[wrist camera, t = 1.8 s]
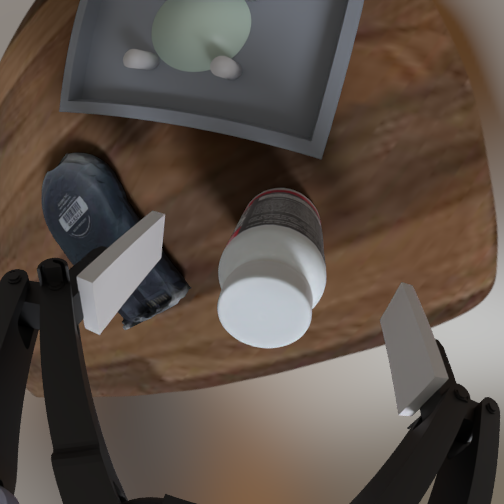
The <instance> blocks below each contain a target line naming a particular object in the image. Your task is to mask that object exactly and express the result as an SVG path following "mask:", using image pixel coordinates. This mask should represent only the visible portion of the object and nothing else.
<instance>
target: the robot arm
mask: <svg viewBox="0 0 504 504" xmlns="http://www.w3.org/2000/svg"><path fill="white" fill-rule="evenodd" d="M164 221H165V214H163V213H159V212H155V211H152V212H150V213H149V214H148V215H147V216H145V217H144V218H143V219H142V220H140V221H139V222H138V223H137V224H136V225H134V226H133V227H132V228H131V229H130V230H128V231H127V232H126V233H125V234H124V235H122V236H121V237H120V238H119V239H118V240H117V241H115V242H114V243H113V244H112V245H111V246H110V247H108V248H107V247H104V246H100V247H98V248H95V249H93V250H92V251H90V252H89V253H88V254H87V255H86V257H83V258H82V259H81V261H79V262H78V263H76V264H75V265H74V266H73V267H72V268H71V269H70V270H69V269H68V264H67V262H66V261H65V260H63V259H60V258H50V259H47V260H45V261H43V262H41V263H40V264H39V265H38V268H37V272H38V277H39V281H40V282H34V281H29V278H28V275H27V272H25V271H24V270H20V269H15V270H11V271H9V272H7V273H6V274H5V275H4V276H3V277H2V279H1V281H0V504H19V502H18V500H17V499H16V497H15V496H14V492H15V485H16V478H17V462H18V443H19V433H20V423H21V414H22V408H23V401H24V395H25V389H26V383H27V378H28V373H29V368H30V363H31V359H32V354H33V350H34V346H35V342H36V338H37V334H38V331H39V330H40V352H41V368H42V379H43V389H44V397H45V405H46V412H47V418H48V424H49V428H50V435H51V440H52V444H53V454H52V455H51V461H52V466H53V471H54V475H55V478H56V482H57V485H58V488H59V492H60V495H61V498H62V501H63V504H196V503H192V502H189V501H185V500H182V499H179V498H176V497H173V496H170V495H167V494H165V496H164V498H153V497H146V498H137V499H132V500H129V501H128V499H127V497H126V495H125V493H124V490H123V488H122V486H121V483H120V481H119V479H118V477H117V475H116V472H115V470H114V467H113V464H112V461H111V459H110V456H109V453H108V450H107V447H106V444H105V441H104V437H103V434H102V431H101V428H100V424H99V421H98V417H97V413H96V409H95V406H94V402H93V398H92V393H91V389H90V385H89V380H88V376H87V371H86V366H85V360H84V355H83V349H82V343H81V337H80V330H79V325H78V324H79V323H80V322H81V321H82V320H83V319H84V324H85V328H86V329H88V330H90V331H92V332H94V333H97V334H99V335H100V334H101V332H102V331H103V330H104V329H105V327H106V326H107V325H108V323H109V322H110V321H111V319H112V318H113V317H114V316H115V314H116V313H117V312H118V310H119V309H120V308H121V307H122V305H123V304H124V303H125V302H126V300H127V299H128V298H129V297H130V295H131V294H132V293H133V292H134V290H135V289H136V288H137V287H138V285H139V284H140V283H141V282H142V281H143V279H144V278H145V277H146V276H147V274H148V273H149V272H150V271H151V270H152V268H153V267H154V266H155V265H156V264H157V262H158V261H159V260H160V259H161V256H162V243H163V232H164ZM380 322H381V326H382V331H383V335H384V340H385V344H386V349H387V354H388V358H389V363H390V368H391V374H392V379H393V384H394V390H395V396H396V402H397V409H398V415H404V416H412V415H414V414H415V413H416V412H417V411H418V410H419V409H420V411H421V416H420V417H419V418H418V419H417V420H415V421H414V422H413V423H412V424H411V425H410V426H409V427H408V429H410V430H409V431H408V433H407V434H406V436H405V437H404V439H403V440H402V441H401V443H400V444H399V445H398V447H397V448H396V450H395V451H394V452H393V453H392V455H391V456H390V457H389V459H388V460H387V461H386V463H385V464H384V465H383V466H382V467H381V469H380V470H379V471H378V472H377V474H376V475H375V476H374V477H373V478H372V479H371V481H370V482H369V483H368V484H367V485H366V486H365V488H364V489H363V490H362V491H361V492H360V493H359V494H358V495H357V496H356V497H355V498H354V499H353V500H352V502H351V503H350V504H419V502H420V501H421V499H422V497H423V496H424V494H425V493H426V491H427V490H428V488H429V486H430V485H431V483H432V481H433V479H434V478H435V476H436V474H437V476H436V479H435V483H434V486H433V489H432V492H431V495H430V498H429V501H428V504H491V499H492V493H493V488H494V481H495V475H496V467H497V459H498V447H499V431H500V429H499V428H500V410H499V407H498V405H497V403H496V402H495V401H494V400H493V399H492V398H489V397H486V398H484V399H483V400H482V401H481V402H480V403H477V402H475V401H473V400H470V395H469V393H468V391H467V390H466V389H465V388H464V387H463V386H462V385H460V384H457V383H456V381H455V378H454V375H453V372H452V369H451V366H450V364H449V361H448V358H447V357H446V356H447V355H446V353H445V350H444V347H443V346H442V345H441V344H440V342H439V341H438V340H436V339H435V338H434V336H433V333H432V330H431V328H430V325H429V323H428V320H427V318H426V315H425V313H424V311H423V308H422V306H421V304H420V301H419V299H418V297H417V294H416V292H415V290H414V288H413V286H412V285H409V284H406V283H402V282H401V284H400V286H399V288H398V289H397V291H396V293H395V295H394V297H393V298H392V300H391V302H390V304H389V305H388V307H387V309H386V311H385V312H384V314H383V316H382V317H381V319H380ZM470 441H471V442H470Z"/></svg>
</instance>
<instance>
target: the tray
mask: <svg viewBox="0 0 504 504" xmlns="http://www.w3.org/2000/svg"><path fill="white" fill-rule="evenodd" d="M363 3H364V0H80V3H79V6H78V10H77V13H76V17H75V21H74V25H73V29H72V34H71V38H70V43H69V48H68V53H67V58H66V64H65V70H64V77H63V84H62V92H61V101H60V111H59V112H74V113H87V114H99V115H109V116H118V117H126V118H134V119H142V120H149V121H156V122H162V123H168V124H174V125H180V126H186V127H191V128H196V129H202V130H207V131H212V132H217V133H221V134H226V135H231V136H235V137H239V138H244V139H248V140H252V141H256V142H260V143H264V144H268V145H272V146H276V147H280V148H283V149H287V150H291V151H294V152H298V153H301V154H305V155H308V156H312V157H315V158H318V159H322V156H323V153H324V149H325V146H326V143H327V139H328V136H329V132H330V129H331V125H332V122H333V118H334V115H335V111H336V108H337V104H338V101H339V97H340V93H341V90H342V86H343V82H344V79H345V75H346V71H347V67H348V64H349V60H350V56H351V52H352V48H353V44H354V40H355V36H356V32H357V28H358V24H359V20H360V16H361V11H362V7H363Z"/></svg>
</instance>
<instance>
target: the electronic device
mask: <svg viewBox="0 0 504 504" xmlns="http://www.w3.org/2000/svg"><path fill="white" fill-rule="evenodd" d="M42 209H43V214H44V218H45V221H46V224H47V226H48V228H49V230H50V232H51V234H52V235H53V237H54V239H55V240H56V242H57V243H58V244H59V245H60V247H61V249H62V250H63V251H64V253H65V254H66V256H67V257H68V259H69V260H70V261H71V262H72V264H73V265H75V264H76V263H78V262H79V261H81V259H82V258H83V257H86V255H87V254H88V253H89V252H90V251H92V250H93V249H95V248H98V247H100V246H104V247H107V248H108V247H110V246H111V245H112V244H113V243H114V242H115V241H117V240H118V239H119V238H120V237H121V236H122V235H124V234H125V233H126V232H127V231H128V230H130V229H131V228H132V227H133V226H134V225H136V224H137V223H138V222H139V221H140V220H141V219H140V218H139V217H138V215H137V214H136V213H135V212H134V210H133V208H132V207H131V205H130V203H129V202H128V201H127V198H126V194H125V192H124V190H123V187H122V185H121V183H120V182H119V181H118V179H117V177H116V174H115V173H114V171H113V170H112V169H111V168H110V167H109V166H108V164H106V163H105V162H104V161H102V160H101V159H99V158H98V157H95V156H93V155H91V154H87V153H70V154H67V155H65V156H64V157H63V159H62V160H61V162H60V163H59V165H58V166H57V167H56V168H55V169H53V170H52V171H49V172H47V173H46V176H45V178H44V181H43V186H42ZM189 289H191V287H190V286H189V285H188V283H187V282H186V281H185V279H184V277H183V276H182V275H181V274H180V272H179V271H178V270H177V269H176V268H175V266H174V265H173V264H172V262H171V261H170V260H169V258H168V257H167V256H166V255H165V253H164V252H163V250H162V256H161V259H160V260H159V261H158V262H157V264H156V265H155V266H154V267H153V268H152V270H151V271H150V272H149V273H148V274H147V276H146V277H145V278H144V279H143V281H142V282H141V283H140V284H139V285H138V287H137V288H136V289H135V290H134V292H133V293H132V294H131V295H130V297H129V298H128V299H127V300H126V302H125V303H124V304H123V305H122V307H121V308H120V309H119V310H118V313H119V314H120V315H121V316H122V317H123V319H124V320H123V321H122V323H123V324H124V326H123V329H124V330H127V329H129V328H131V327H133V326H135V325H137V324H139V323H141V322H143V321H145V320H148V319H151V318H152V317H153V316H154V315H156V314H158V313H161V312H163V311H165V310H167V309H168V308H170V307H172V306H174V305H175V304H177V303H178V302H179V300H180V299H181V298H183V297H185V295H186V293H187V292H188V290H189Z"/></svg>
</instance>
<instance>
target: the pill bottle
mask: <svg viewBox="0 0 504 504" xmlns="http://www.w3.org/2000/svg"><path fill="white" fill-rule="evenodd" d="M218 276H219V282H220V286H221V289H222V290H221V293H220V296H219V299H218V304H217V310H218V316H219V319H220V321H221V323H222V325H223V327H224V328H225V329H226V330H227V331H228V332H229V333H230V334H231V335H232V336H233V337H234V338H236V339H238V340H239V341H241V342H243V343H245V344H248V345H251V346H255V347H260V348H277V347H282V346H286V345H288V344H291V343H293V342H295V341H296V340H298V339H299V338H300V337H302V336H303V334H304V333H305V332H306V330H307V329H308V327H309V325H310V322H311V317H312V309H313V308H314V307H315V305H316V304H317V303H318V302H319V300H320V298H321V296H322V294H323V292H324V289H325V285H326V264H325V257H324V249H323V235H322V229H321V221H320V217H319V214H318V211H317V209H316V207H315V206H314V205H313V203H312V202H311V201H310V200H309V199H308V198H307V197H306V196H304V195H303V194H302V193H299V192H297V191H295V190H292V189H287V188H273V189H269V190H266V191H263V192H262V193H260V194H258V195H257V196H255V197H254V198H253V199H252V200H251V201H250V203H249V204H248V206H247V207H246V209H245V211H244V212H243V214H242V216H241V218H240V220H239V222H238V224H237V226H236V228H235V230H234V232H233V234H232V236H231V238H230V240H229V242H228V243H227V245H226V247H225V249H224V251H223V254H222V256H221V259H220V262H219V269H218Z"/></svg>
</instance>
